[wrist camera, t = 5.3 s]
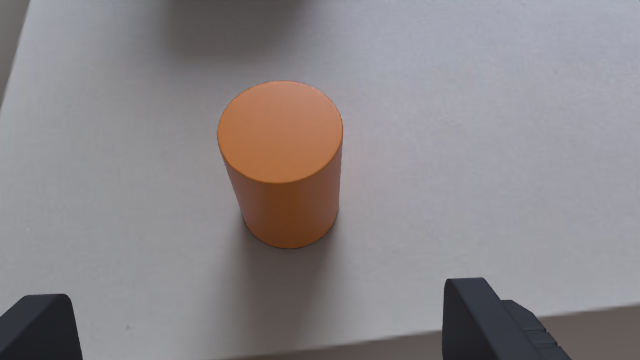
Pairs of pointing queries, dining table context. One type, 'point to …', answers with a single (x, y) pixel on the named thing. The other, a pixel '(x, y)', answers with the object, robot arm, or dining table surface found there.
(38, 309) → the robot arm
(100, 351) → the dining table surface
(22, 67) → the dining table surface
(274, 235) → the orange tin
